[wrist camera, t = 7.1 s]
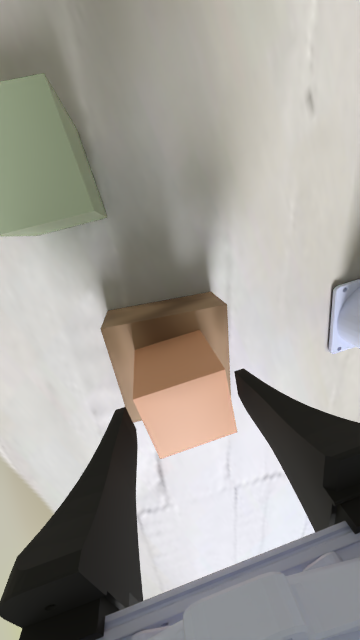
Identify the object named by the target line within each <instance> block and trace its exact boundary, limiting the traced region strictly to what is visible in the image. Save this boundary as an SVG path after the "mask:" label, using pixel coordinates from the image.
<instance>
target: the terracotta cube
mask: <svg viewBox="0 0 360 640" xmlns="http://www.w3.org/2000/svg"><path fill="white" fill-rule="evenodd" d="M133 401H134V403H135V406H136V408H137V410H138V412H139V414H140V416H141V419H142V421H143V423H144V425H145V427H146V429H147V432H148V434H149V436H150V438H151V440H152V442H153V445H154V447H155V449H156V451H157V453H158V455H159V458H160V459H162V458H165V457H168V456H171V455H174V454H177V453H179V452H182V451H185V450H188V449H191V448H194V447H196V446H199V445H202V444H205V443H208V442H211V441H214V440H216V439H219V438H222V437H225V436H228V435H231V434H233V433H236V432H237V428H236V423H235V418H234V412H233V407H232V402H231V397H230V392H229V386H228V381H227V376H226V371H225V368H224V367H223V365H222V364H221V362H220V360H219V359H218V357H217V356H216V354H215V353H214V351H213V349H212V348H211V346H210V345H209V343H208V342H207V340H206V339H205V337H204V335H203V334H202V332H201V331H200V330H197V331H194V332H191V333H187V334H184V335H181V336H178V337H175V338H171V339H168V340H165V341H162V342H159V343H155V344H152V345H149V346H146V347H143V348H139V349H136V350H135V354H134V381H133Z"/></svg>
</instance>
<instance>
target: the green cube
mask: <svg viewBox="0 0 360 640" xmlns="http://www.w3.org/2000/svg"><path fill="white" fill-rule="evenodd" d="M105 218H107V215H106V212H105V209H104V206H103V204H102V201H101V198H100V195H99V192H98V189H97V186H96V183H95V181H94V178H93V175H92V172H91V169H90V166H89V163H88V160H87V158H86V155H85V152H84V149H83V146H82V143H81V140H80V137H79V135H78V132H77V129H76V127H75V126H74V124H73V122H72V121H71V119H70V117H69V115H68V114H67V112H66V110H65V109H64V107H63V105H62V103H61V102H60V100H59V98H58V97H57V95H56V93H55V91H54V90H53V88H52V86H51V85H50V83H49V81H48V79H47V78H46V76H45V74H44V73H41V74H36V75H31V76H26V77H21V78H16V79H11V80H6V81H1V82H0V236H38V235H42V234H46V233H50V232H54V231H58V230H62V229H66V228H70V227H73V226H77V225H81V224H85V223H89V222H93V221H97V220H101V219H105Z"/></svg>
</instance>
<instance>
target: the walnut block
mask: <svg viewBox="0 0 360 640" xmlns="http://www.w3.org/2000/svg"><path fill="white" fill-rule="evenodd" d="M197 330H200V331H201V332H202V334H203V335H204V337H205V339H206V340H207V342H208V343H209V345H210V346H211V348H212V349H213V351H214V353H215V354H216V356H217V357H218V359H219V360H220V362H221V364H222V365H223V367H224V368H225V371H226V376H227V381H228V386H229V392H230V397H231V390H230V366H229V343H228V319H227V304H226V303H224V302H223V301H222V300H221V299H219V298H218V297H217V296H216V295H214V294H213V293H212V292H207V293H201V294H196V295H191V296H185V297H180V298H174V299H169V300H163V301H158V302H153V303H147V304H142V305H136V306H131V307H125V308H120V309H115V310H109V311H107V314H106V316H105V319H104V322H103V324H102V327H101V332H102V335H103V338H104V341H105V344H106V347H107V350H108V354H109V357H110V360H111V363H112V366H113V369H114V372H115V376H116V379H117V382H118V385H119V388H120V391H121V394H122V397H123V401H124V404H125V407H126V409H127V411H128V413H129V415H130V417H131V419H132V422H137V421H141V420H142V419H141V416H140V414H139V412H138V410H137V408H136V406H135V403H134V401H133V381H134V354H135V350H136V349H139V348H143V347H146V346H149V345H152V344H155V343H159V342H162V341H165V340H168V339H171V338H175V337H178V336H181V335H184V334H187V333H191V332H194V331H197Z"/></svg>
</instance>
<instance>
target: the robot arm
mask: <svg viewBox="0 0 360 640" xmlns="http://www.w3.org/2000/svg"><path fill="white" fill-rule="evenodd" d="M343 289H344V290H343ZM353 347H357V348H359V349H360V279H357V280H354V281H351V282H348V283H344V284H341V285H338V286H336V287H335V288H334V290H333V299H332V312H331V326H330V339H329V352H330V353H332V354H335V353H338V352H341V351H344V350H347V349H350V348H353ZM235 378H236V384H237V390H238V395H239V397H240V399H241V401H242V403H243V405H244V407H245V409H246V410H247V412H248V414H249V415H250V417H251V418H252V419H253V421H254V422H255V424H256V425H257V427H258V428H259V430H260V431H261V433H262V434H263V436H264V437H265V439H266V440H267V442H268V443H269V445H270V447H271V448H272V450H273V452H274V454H275V455H276V457H277V459H278V461H279V463H280V464H281V466H282V468H283V470H284V472H285V474H286V476H287V477H288V479H289V481H290V483H291V485H292V487H293V489H294V491H295V493H296V495H297V497H298V498H299V500H300V502H301V504H302V506H303V508H304V510H305V512H306V514H307V516H308V518H309V520H310V522H311V524H312V526H313V528H314V530H315V533H313V534H310V535H308V536H305V537H303V538H300V539H298V540H295V541H293V542H290V543H288V544H285V545H283V546H280V547H278V548H275V549H273V550H270V551H268V552H265V553H263V554H260V555H257V556H255V557H252V558H250V559H247V560H245V561H242V562H240V563H237V564H235V565H232V566H230V567H227V568H225V569H222V570H220V571H217V572H215V573H212V574H210V575H207V576H205V577H202V578H200V579H197V580H195V581H192V582H190V583H187V584H185V585H182V586H180V587H177V588H175V589H172V590H170V591H167V592H165V593H162V594H160V595H157V596H155V597H152V598H150V599H147V600H145V601H143V594H142V583H141V573H140V561H139V548H138V533H137V516H136V470H137V434H136V428H135V426H134V424H133V422H132V419H131V417H130V415H129V413H128V411H127V409H126V407H124V408H121V409H118V410H116V411H115V412H114V415H113V417H112V419H111V421H110V423H109V426H108V428H107V430H106V432H105V434H104V436H103V438H102V440H101V442H100V444H99V446H98V448H97V450H96V452H95V454H94V455H93V457H92V459H91V461H90V463H89V464H88V466H87V468H86V469H85V471H84V473H83V474H82V476H81V477H80V479H79V480H78V482H77V483H76V485H75V486H74V488H73V489H72V491H71V492H70V493H69V495H68V496H67V498H66V499H65V500H64V502H63V503H62V504H61V506H60V507H59V508H58V510H57V511H56V512H55V513H54V515H53V516H52V517H51V519H50V520H49V521H48V522H47V523H46V525H45V526H44V527H43V528H42V529H41V531H40V532H39V533H38V534H37V535H36V536H35V537H34V539H33V540H32V541H31V542H30V543H29V544H28V545H27V547H26V548H25V549H24V550H23V551H22V552H21V553H20V555H18V557H17V559H16V561H15V564H14V566H13V569H12V571H11V574H10V576H9V579H8V582H7V584H6V587H5V590H4V593H3V595H2V598H1V601H0V616H1V617H2V618H3V619H5V620H7V621H9V622H11V623H13V624H15V625H17V626H19V627H21V628H22V632H21V635H20V639H19V640H360V423H358V422H354V421H350V420H347V419H343V418H340V417H337V416H334V415H331V414H328V413H325V412H323V411H320V410H318V409H315V408H312V407H310V406H307V405H305V404H303V403H301V402H299V401H296V400H294V399H292V398H290V397H288V396H286V395H285V394H283V393H281V392H279V391H277V390H276V389H274V388H272V387H271V386H269V385H267V384H266V383H264V382H263V381H261V380H260V379H258V378H257V377H255V376H254V375H252V374H251V373H249V372H248V371H246V370H245V369H241V370H237V371H235Z"/></svg>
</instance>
